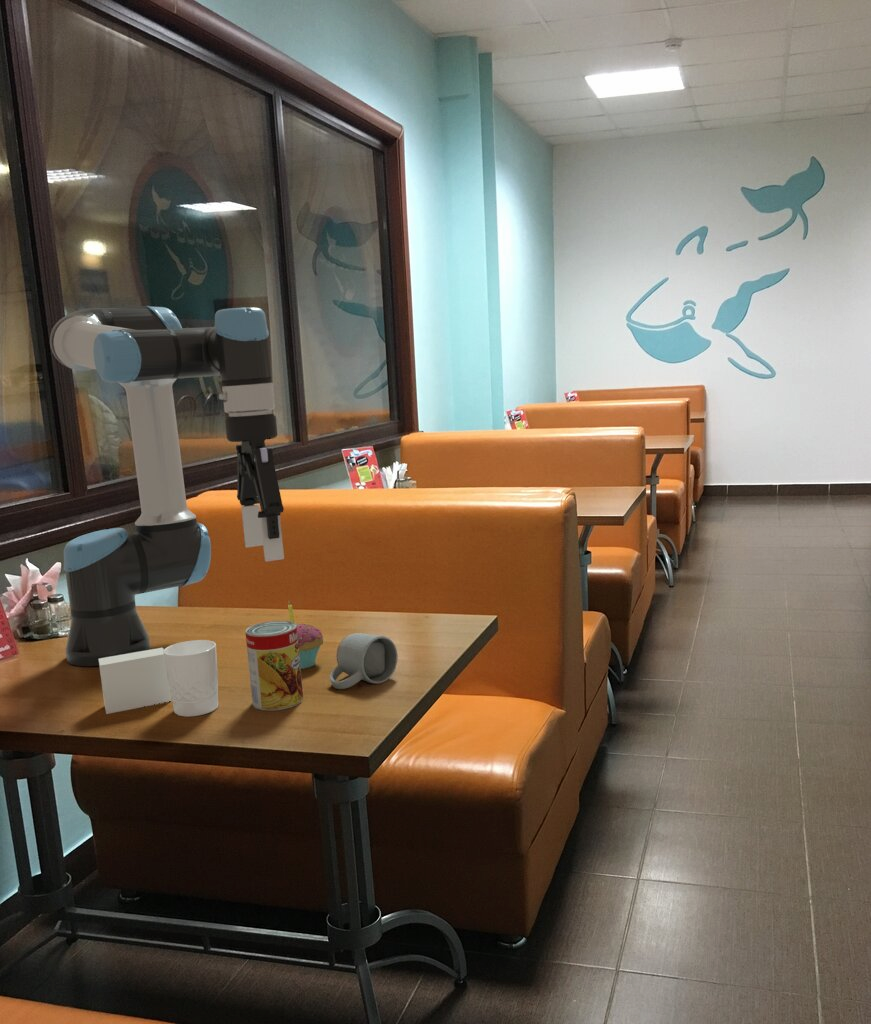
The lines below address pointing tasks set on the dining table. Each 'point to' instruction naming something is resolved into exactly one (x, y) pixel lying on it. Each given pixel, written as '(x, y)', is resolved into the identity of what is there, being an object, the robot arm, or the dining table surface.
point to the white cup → (192, 677)
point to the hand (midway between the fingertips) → (264, 553)
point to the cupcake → (307, 642)
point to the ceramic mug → (364, 660)
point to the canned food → (274, 665)
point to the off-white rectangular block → (134, 680)
